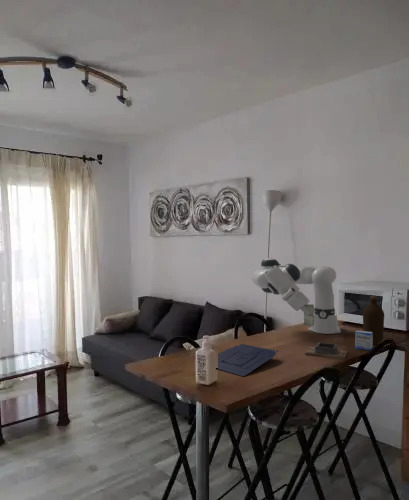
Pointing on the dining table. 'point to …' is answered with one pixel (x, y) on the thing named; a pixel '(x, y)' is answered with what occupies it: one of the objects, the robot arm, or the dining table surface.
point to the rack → (326, 351)
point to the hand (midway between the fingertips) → (310, 313)
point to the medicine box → (363, 340)
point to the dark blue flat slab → (243, 359)
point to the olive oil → (374, 320)
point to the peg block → (309, 318)
